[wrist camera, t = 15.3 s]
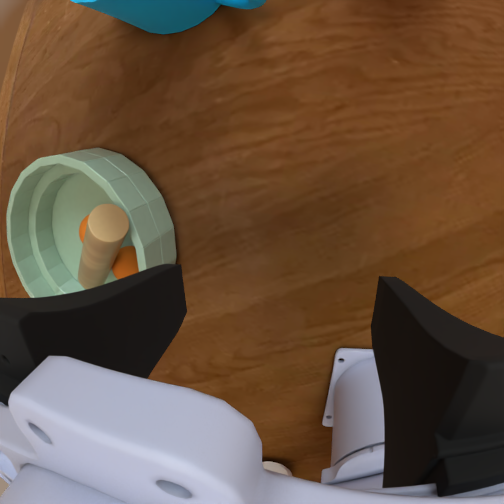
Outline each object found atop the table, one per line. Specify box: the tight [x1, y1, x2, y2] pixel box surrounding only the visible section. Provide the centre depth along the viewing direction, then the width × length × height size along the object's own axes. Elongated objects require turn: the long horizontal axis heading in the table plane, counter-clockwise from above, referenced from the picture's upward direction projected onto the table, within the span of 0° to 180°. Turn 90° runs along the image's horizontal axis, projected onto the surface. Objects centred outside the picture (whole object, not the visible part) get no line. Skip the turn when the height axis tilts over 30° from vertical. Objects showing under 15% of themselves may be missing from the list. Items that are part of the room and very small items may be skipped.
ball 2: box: [112, 246, 139, 279], centre depth 22 cm, size 3×3×3 cm
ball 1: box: [79, 214, 90, 243], centre depth 22 cm, size 3×3×3 cm
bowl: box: [7, 148, 177, 298], centre depth 22 cm, size 14×14×5 cm
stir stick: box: [78, 204, 129, 289], centre depth 20 cm, size 2×2×9 cm
